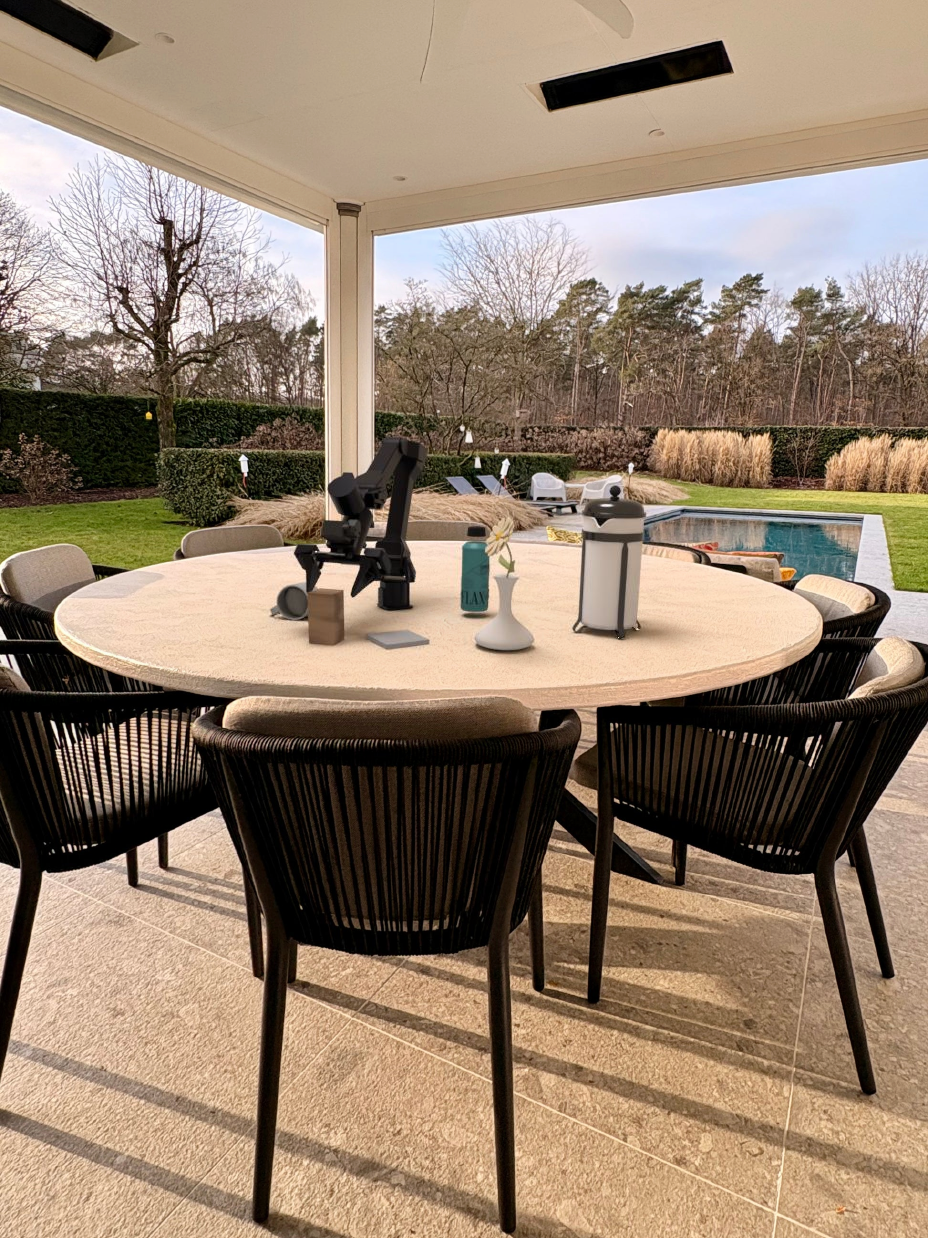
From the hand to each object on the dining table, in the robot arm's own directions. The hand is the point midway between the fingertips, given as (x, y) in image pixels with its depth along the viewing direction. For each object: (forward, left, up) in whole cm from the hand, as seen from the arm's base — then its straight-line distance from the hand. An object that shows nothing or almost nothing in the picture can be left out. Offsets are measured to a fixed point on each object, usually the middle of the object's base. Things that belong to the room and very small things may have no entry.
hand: (329, 594), depth 148 cm
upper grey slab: (-11, +7, -9) cm, 16 cm away
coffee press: (-55, +17, -9) cm, 58 cm away
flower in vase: (-27, +20, -9) cm, 35 cm away
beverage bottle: (-37, -7, -9) cm, 39 cm away
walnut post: (+1, +1, -9) cm, 9 cm away
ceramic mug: (-1, -24, -9) cm, 26 cm away
